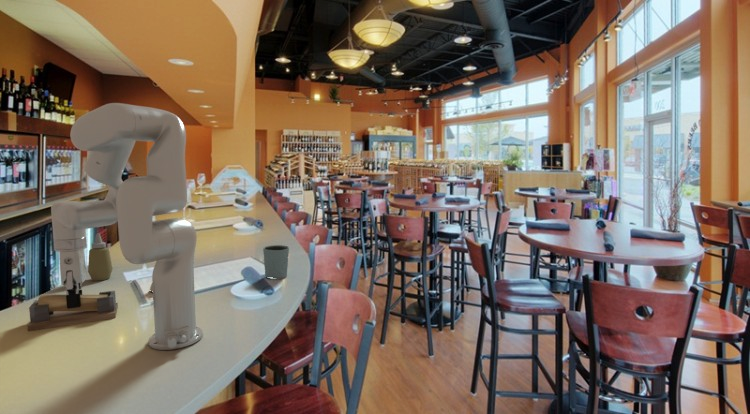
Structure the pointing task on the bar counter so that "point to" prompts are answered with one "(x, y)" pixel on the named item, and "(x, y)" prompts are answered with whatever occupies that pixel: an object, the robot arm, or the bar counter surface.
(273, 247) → the grey green cup
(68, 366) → the bar counter surface
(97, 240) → the squeeze bottle
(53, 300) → the oak slat
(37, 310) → the cradle board
